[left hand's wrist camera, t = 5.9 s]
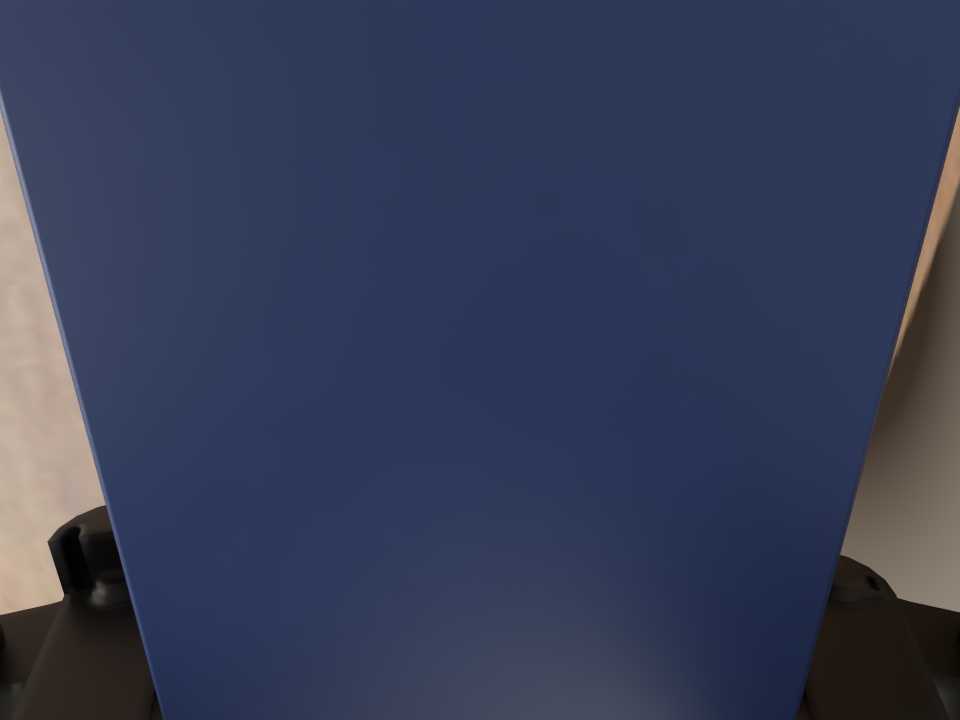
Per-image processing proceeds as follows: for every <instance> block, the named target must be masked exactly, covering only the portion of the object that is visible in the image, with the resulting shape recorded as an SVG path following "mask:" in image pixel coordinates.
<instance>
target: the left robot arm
mask: <svg viewBox="0 0 960 720" xmlns="http://www.w3.org/2000/svg"><path fill="white" fill-rule="evenodd" d="M48 545H49V548H50V551H51V554H52V557H53V560H54V563H55V567H56V570H57V573H58V576H59V579H60V582H61V586H62V589H63V592H64V598H63V600H62V601H60V602H56V603H53V604H49V605H45V606H40V607H35V608H31V609H26V610H22V611H17V612H12V613H8V614H3V615H0V720H163V716H162V713H161V709H160V705H159V701H158V698H157V694H156V690H155V686H154V683H153V679H152V675H151V671H150V668H149V664H148V660H147V656H146V653H145V649H144V645H143V642H142V638H141V634H140V630H139V627H138V623H137V619H136V615H135V612H134V608H133V604H132V600H131V597H130V593H129V589H128V585H127V582H126V578H125V574H124V570H123V567H122V563H121V559H120V555H119V552H118V548H117V544H116V541H115V537H114V533H113V529H112V526H111V522H110V518H109V514H108V511H107V507H106V505H105V506H100V507H97V508H95V509H92V510H90V511H88V512H85V513H83V514H81V515H78V516H76V517H75V518H73V519H72V520H70V521H69V522H67V523H66V524H64V525H63V526H61V527H60V528H59V529H58V530H57V531H56V532H55V533H54V534H53V536H52V537H51V538H50V539H49V540H48ZM796 720H960V612H955V611H951V610H946V609H942V608H937V607H932V606H928V605H923V604H918V603H914V602H909V601H906V600H902V599H899V598H897V596H896V594H895V593H894V591H893V590H892V589H891V587H890V586H889V585H888V583H887V582H886V580H885V579H883V578H882V577H881V576H879V575H878V574H877V573H876V572H874V571H873V570H872V569H870V568H869V567H867V566H865V565H863V564H861V563H859V562H857V561H855V560H853V559H851V558H849V557H846V556H842V555H840V556H839V560H838V564H837V567H836V571H835V575H834V579H833V582H832V586H831V590H830V594H829V597H828V601H827V605H826V609H825V612H824V616H823V620H822V624H821V627H820V631H819V635H818V639H817V642H816V646H815V650H814V654H813V657H812V661H811V665H810V669H809V672H808V676H807V680H806V684H805V687H804V691H803V695H802V699H801V702H800V706H799V710H798V714H797V717H796Z"/></svg>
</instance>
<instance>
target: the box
mask: <svg viewBox="0 0 960 720" xmlns="http://www.w3.org/2000/svg"><path fill="white" fill-rule="evenodd" d="M959 107H960V0H0V110H1V114H2V118H3V121H4V125H5V129H6V133H7V136H8V140H9V144H10V148H11V151H12V155H13V159H14V163H15V166H16V170H17V174H18V178H19V181H20V185H21V189H22V193H23V196H24V200H25V204H26V208H27V211H28V215H29V219H30V222H31V226H32V230H33V234H34V237H35V241H36V245H37V249H38V252H39V256H40V260H41V264H42V267H43V271H44V275H45V279H46V282H47V286H48V290H49V294H50V297H51V301H52V305H53V309H54V312H55V316H56V320H57V324H58V327H59V331H60V335H61V338H62V342H63V346H64V350H65V353H66V357H67V361H68V365H69V368H70V372H71V376H72V380H73V383H74V387H75V391H76V395H77V398H78V402H79V406H80V410H81V413H82V417H83V421H84V425H85V428H86V432H87V436H88V439H89V443H90V447H91V451H92V454H93V458H94V462H95V466H96V469H97V473H98V477H99V481H100V484H101V488H102V492H103V496H104V499H105V503H106V507H107V511H108V514H109V518H110V522H111V526H112V529H113V533H114V537H115V541H116V544H117V548H118V552H119V555H120V559H121V563H122V567H123V570H124V574H125V578H126V582H127V585H128V589H129V593H130V597H131V600H132V604H133V608H134V612H135V615H136V619H137V623H138V627H139V630H140V634H141V638H142V642H143V645H144V649H145V653H146V656H147V660H148V664H149V668H150V671H151V675H152V679H153V683H154V686H155V690H156V694H157V698H158V701H159V705H160V709H161V713H162V716H163V720H796V717H797V714H798V710H799V706H800V702H801V699H802V695H803V691H804V687H805V684H806V680H807V676H808V672H809V669H810V665H811V661H812V657H813V654H814V650H815V646H816V642H817V639H818V635H819V631H820V627H821V624H822V620H823V616H824V612H825V609H826V605H827V601H828V597H829V594H830V590H831V586H832V582H833V579H834V575H835V571H836V567H837V564H838V560H839V556H840V552H841V549H842V545H843V541H844V537H845V534H846V530H847V526H848V522H849V519H850V515H851V511H852V507H853V504H854V500H855V496H856V492H857V489H858V485H859V481H860V477H861V474H862V470H863V466H864V462H865V459H866V455H867V451H868V447H869V444H870V440H871V436H872V433H873V429H874V425H875V421H876V418H877V414H878V410H879V406H880V403H881V399H882V395H883V391H884V388H885V384H886V380H887V376H888V373H889V369H890V365H891V361H892V358H893V354H894V350H895V346H896V343H897V339H898V335H899V331H900V328H901V324H902V320H903V317H904V313H905V309H906V305H907V302H908V298H909V294H910V290H911V287H912V283H913V279H914V275H915V272H916V268H917V264H918V260H919V257H920V253H921V249H922V245H923V242H924V238H925V234H926V230H927V227H928V223H929V219H930V215H931V212H932V208H933V204H934V200H935V197H936V193H937V189H938V185H939V182H940V178H941V174H942V170H943V167H944V163H945V159H946V155H947V152H948V148H949V144H950V140H951V137H952V133H953V129H954V125H955V122H956V118H957V114H958V110H959Z"/></svg>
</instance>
